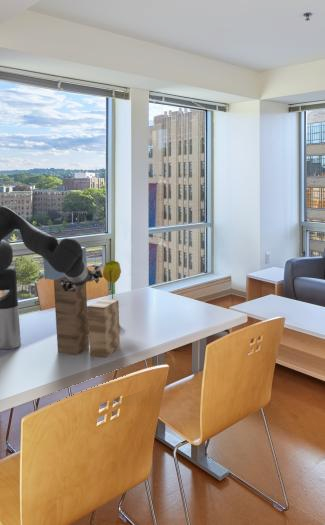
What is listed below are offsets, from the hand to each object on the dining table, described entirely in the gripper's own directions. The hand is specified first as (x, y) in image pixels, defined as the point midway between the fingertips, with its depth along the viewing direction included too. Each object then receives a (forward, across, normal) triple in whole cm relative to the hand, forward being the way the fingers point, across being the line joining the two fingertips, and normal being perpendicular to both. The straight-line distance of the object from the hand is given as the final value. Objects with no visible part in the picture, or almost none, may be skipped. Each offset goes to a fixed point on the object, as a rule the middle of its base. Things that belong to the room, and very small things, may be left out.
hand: (85, 284), depth 171 cm
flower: (+58, +2, -4) cm, 58 cm away
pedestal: (+27, -16, -15) cm, 35 cm away
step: (+26, -4, -21) cm, 33 cm away
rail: (+10, -6, +10) cm, 16 cm away
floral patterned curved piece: (+48, -9, -6) cm, 50 cm away
